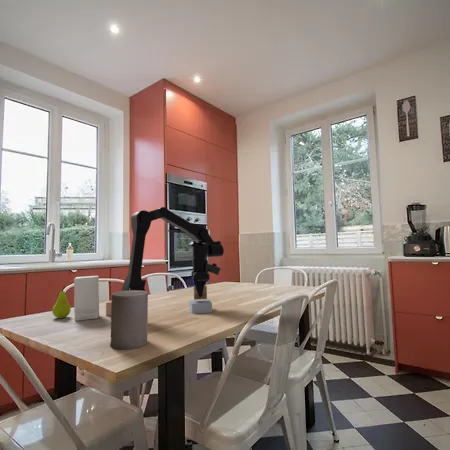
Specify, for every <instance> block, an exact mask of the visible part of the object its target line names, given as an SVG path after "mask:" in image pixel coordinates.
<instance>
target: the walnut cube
mask: <svg viewBox="0 0 450 450" xmlns="http://www.w3.org/2000/svg"><path fill="white" fill-rule="evenodd" d="M207 288H208V287H207V285H206V284H204V289H203V294H202V297H199V295H198V292H197V289H196V287H195V285H193V299H194V300H208V292H207V291H208V289H207Z"/></svg>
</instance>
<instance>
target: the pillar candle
mask: <svg viewBox="0 0 450 450" xmlns="http://www.w3.org/2000/svg"><path fill="white" fill-rule="evenodd" d="M110 301H111V315H110V344H109V347H110V348H112V349H115V350H132V349H137V348H140V347H144V346H145V345H148V344H147V343H148V327H149V326H148V323H149V322H148V320H149V319H148V317H149V316H148V311H149V309H148V307H149V306H148V304H149V303H148V301H149V292H148V291H146V290H145V291H137V290H134V291H133V290H132V291H130V288H129V291H122V290H120V291H115V292H112V293H111V300H110Z"/></svg>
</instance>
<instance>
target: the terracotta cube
mask: <svg viewBox="0 0 450 450" xmlns="http://www.w3.org/2000/svg"><path fill="white" fill-rule="evenodd" d="M104 307H105V312H104V313H105V317H107V316H111V300H105V306H104Z"/></svg>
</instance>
